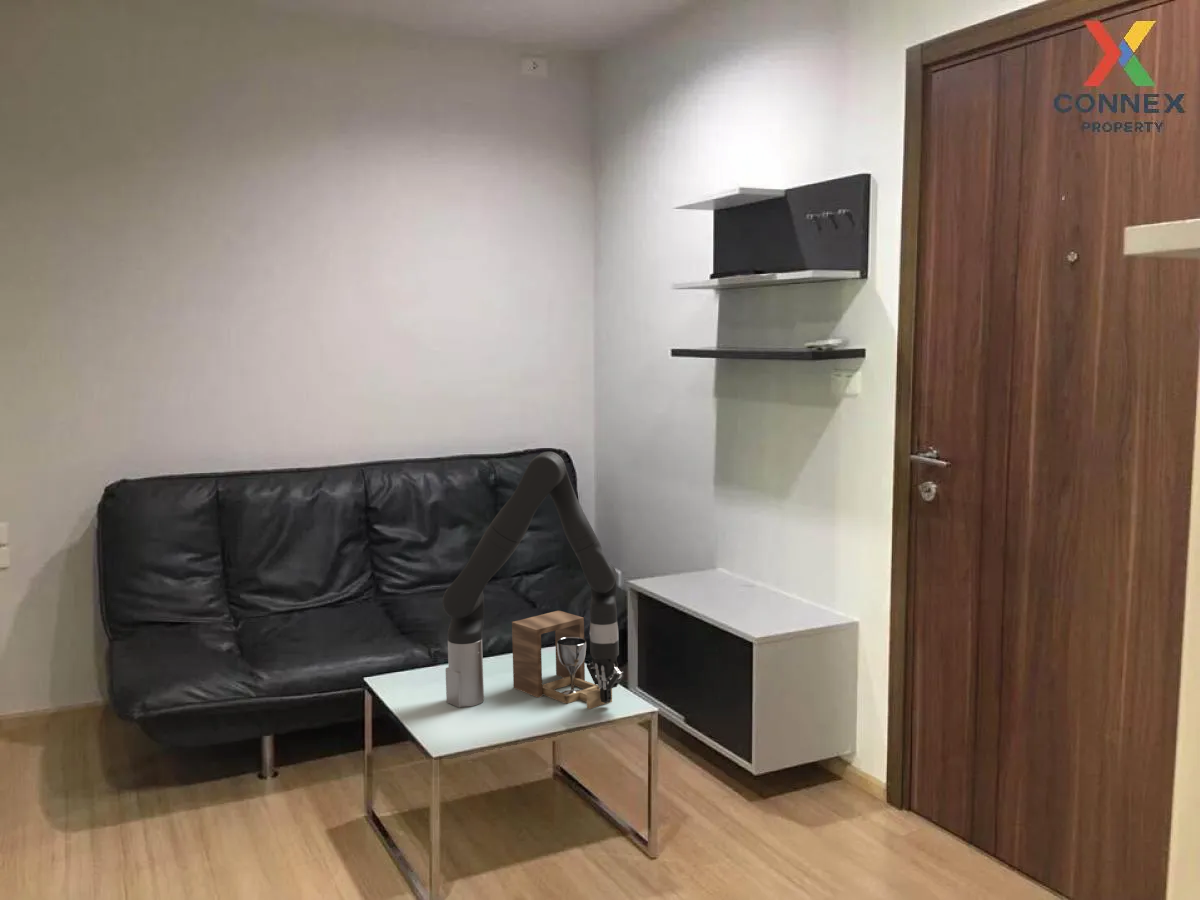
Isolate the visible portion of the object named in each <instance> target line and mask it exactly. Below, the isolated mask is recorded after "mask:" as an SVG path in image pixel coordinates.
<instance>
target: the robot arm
mask: <svg viewBox="0 0 1200 900" xmlns="http://www.w3.org/2000/svg"><path fill="white" fill-rule="evenodd" d="M519 481H520V482H519V483H518V484H517V486H516V489H515V490H514V492H513V494H512V495H511V496H510V498H509V499H508V500H507V501H506V503H505V504H504V505H503V506H502V507H501V509H500V510H499V511H498V512H497V514H496V515H495V516H494V518H493V520H492V521H491V522H490V524H489V525H488V527H487V528H486V530H485V532H484V533H483V535H482V536H481V539H480V540H479V541H478V543H477V545H476V547H475V549H474V550H473V552H472V554H471V556H470V558H469V559H468V562H467V564H466V565H465V566H464V568H463V569H462V570H461V572H460V573H459V574H458V576H457V577H455V579H454V580H453V582H452V583H451V584H450V585H449V586H448V587H447V588H446V590H444V593H443V597H442V608H443V610H444V612H445V614H447V616H448V617H451V619H450V624H449V627H448V629H447V660H448V661H447V662H448V664H447V665H448V667H446V668H445V686H446V687H445V692H446V703H448V704H450V705H453V706H454V707H456V708H458V709H459V708H464V707H473V706H477V705H480V704H482V703H483V702H484V700H485V693H484V692H485V689H484V686H485V685H484V665H483V664H484V657H483V629H484V626H485V597H484V596H485V595H484V590H485V587H486V586H487V584H488V583H489V582H490V580H491V579H492V578H493V576H494V575H495V574H497V572H499V570H500V569H501V568H502V567H504V565H505V563H507V562H508V560H509V559H510V558H511V556H512V555H513V554H514V553H515V551H516V550H517V548H518V547H519V545H520V544H521V542H522V541H523V539H524V537H525V536H526V533H527V531H528V529H529V527H530V525H531V523H532V520H533V517H534V515H535V514H536V512H537V510H538V508H539V507H540V506H541V504H542V503H543V502H544V500H545V499H546V497H548V495H549V496H550V498H551V500H552V501H553V504H554V506H555V509H556V511H557V513H558V517H559V519H560V523H561V525H562V529H563V532H564V535H565V536H566V537H565V538H566V539H567V541H568V543H569V544H570V547H571V548H572V550H573V552H574V554H575V556H576V557H577V560H578V561H579V563H580V567H581V569H582V572H583V575H584V577H585V580H586V582H587V583H588V585H589V586H590V592H591V594H590V595H591V600H590V605H589V607H590V608H589V610H590V611H589V616H590V617H589V618H590V624H589V649H590V652H589V653H590V656H591V659H592V660H591V662H590V663H587V664H586V669H587V671H588V674H589V675H590V677H591V680H592V681H593V684H595V685H598V686H599V688H600V698H601V702H603V703H606V704H609V703H611V702H610V701H611V689H612V690H613V689H614V688H617V687H618V686H619V684H620V682H621V681H622V679H623V678H624V676H625V672H624V671H621V670H620V669H619V668H618V666H619V663H618V661H617V658H618V657H619V655H620V650H619V649H620V647H619V646H620V645H619V644H620V643H619V642H620V641H619V626H618V625H619V624H618V613H617V610H618V609H617V601H616V600H617V571H616V568H615V567H614V566H613V564H612V563H610V562H609V561H607V559H606V557H605V555H604V554H603V551H602V546H601V543H600V541H599V538H598V537H597V535H596V532H595V530H594V529H593V528H592V525H591V523H590V521H589V519H588V517H587V515H586V514H585V512H584V509H583V508H582V506H581V504H580V501H579V499H578V498H577V495H576V492H575V490H574V488H573V484H572V482H571V479H570V476H569V472H568V470H567V466H566V463H565V461H564V460H563V458H562V457H561V455H559V454H557V453H556V452H553V451H544V452H541V453H539V454H538V455H537V456H534V458H533V459H531V460H530V462H529V463H528V465H527V467H526V469H525V471H524V473H523V475H522V477H521V479H520V480H519ZM608 702H609V703H608Z"/></svg>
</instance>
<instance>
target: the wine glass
mask: <svg viewBox="0 0 1200 900" xmlns="http://www.w3.org/2000/svg"><path fill="white" fill-rule="evenodd" d="M557 651H558V656H559V660H560V662H561V664H562V665H563V666H564V667H565V668H566V669H567V670H568V672H569V674H570V679H571V684H570V689H566V690H563V691H561V693H563V694H566V695H568V694H571V693H574V692H577V691H580V689H575V686H574V676H575V672H576V671H577V669H578V668H579V667H580V665H581V664H582V663H583V661H584V660H585V658H586V653H587V652H586V651H587V640H586V639H585V638H584V639H583V638H580V637H566V638H561V639H559V640H558V641H557Z"/></svg>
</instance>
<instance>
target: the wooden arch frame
mask: <svg viewBox="0 0 1200 900" xmlns="http://www.w3.org/2000/svg"><path fill="white" fill-rule="evenodd" d="M584 618H585V617H582V616H579V615H577V614H573V613H569V612H566V611H562V610H555V611H551V612H547V613H544V614H543V613H542V614H539V615H534V616H531V617H527V618H523V619H518V620H515V621H511V636H512V637H511V638H512V671H513V672H512V676H513V677H512V678H513V681H512V683H513V689H515V690H518V691H520V692H523V693H525V694H527V695H530V696H533V697H535V698H541V697H543V694H542V685H543V669H542V668H543V667H542V665H543V664H542V661H543V660H542V659H543V658H542V635H543V634H546V633H552V632H554V634H555V637H554V639H555V641H554V642H555V675H556V676H557V677H560V678H562V679H563V678H566V677H569V676H570V674H569V672H568V670H567V669H566V668H565V667H564V666H563V665H562V664H561V662H560V660H559V656H558V651H557V641H558V640H559V639H561V638H566V637H580V638H583V639H585V621H584V620H585V619H584ZM585 664H586V663H585V659H584V661H583V663H582V664H581V665H580V667H579V668H578V669H577V671H576V672H575V676H574V677H576V678H579V679H582V680H584V681H586V674H585V673H586V672H585V671H586V667H585Z"/></svg>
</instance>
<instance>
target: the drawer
mask: <svg viewBox="0 0 1200 900" xmlns="http://www.w3.org/2000/svg"><path fill="white" fill-rule="evenodd" d="M567 686H571V679H570V676H569V677H566V678H563V677H562V678H559V679H556V680H553V681H550V682H546V683H544V684H543V683H542V696H546V697H548V698H551V699H553V700H556V701H558V702H560V703H564V704H566V705H568V704H572V703H573V702H576V701H580V700H581V701H583V702H585V703H586V709H589V710H591V709H594V708H596V707H597V708H598V707H600V706H603V705H605V704H609V703H612V702H613V688H612V689H611V701H610V702H608V703H603V702H601V698H600V688H599V686H598V685H597V684H596V685H595V683H594V682H590V681H587V680H585V681H584V680H582V679H579V678H576V677H574V687H578V688H580V689H581V690H580V689H579V690H580V691H577V692H574V693H571V694H568V695H566V694H563V693H561V692H562V691H561V692H560V691H558V690H559V689H560V688H563V687H567Z"/></svg>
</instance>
